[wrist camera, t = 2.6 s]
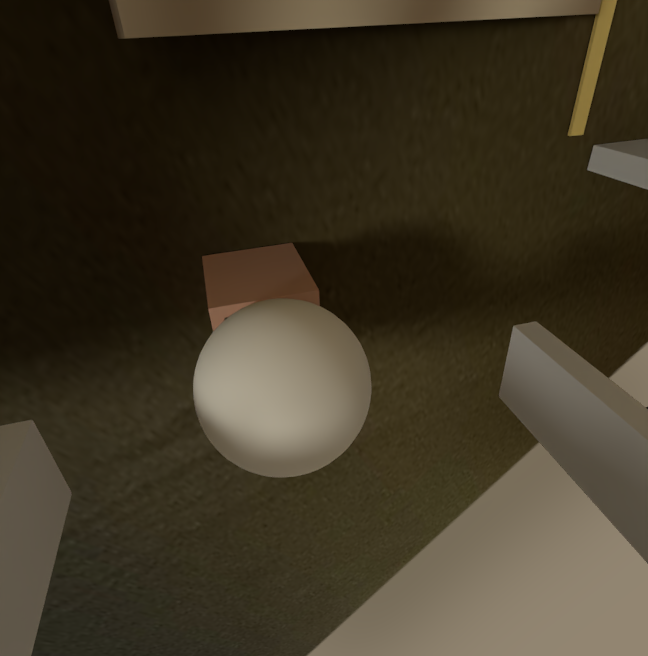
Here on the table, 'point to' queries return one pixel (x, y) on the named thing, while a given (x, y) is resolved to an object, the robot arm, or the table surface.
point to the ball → (282, 387)
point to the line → (592, 66)
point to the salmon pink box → (255, 279)
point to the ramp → (317, 14)
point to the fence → (622, 161)
